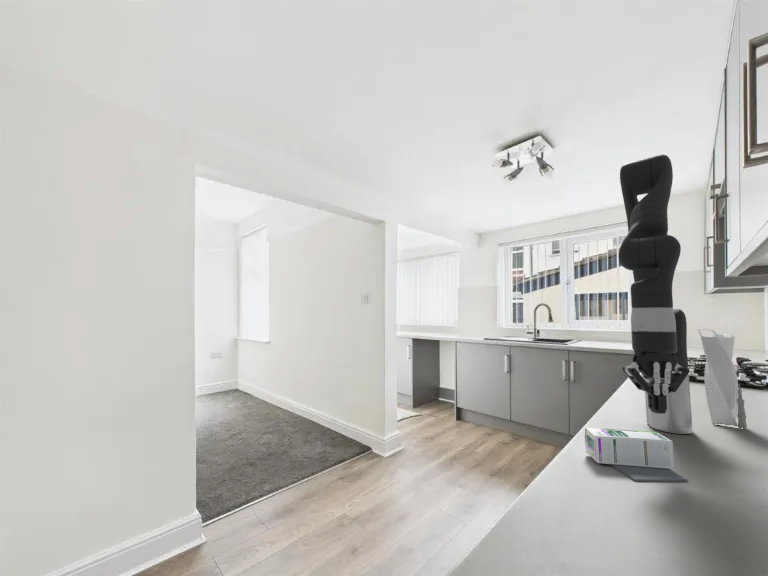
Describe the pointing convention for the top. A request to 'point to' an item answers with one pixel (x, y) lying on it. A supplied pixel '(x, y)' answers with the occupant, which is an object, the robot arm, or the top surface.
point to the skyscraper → (722, 381)
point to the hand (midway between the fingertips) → (657, 412)
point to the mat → (649, 473)
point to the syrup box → (629, 448)
